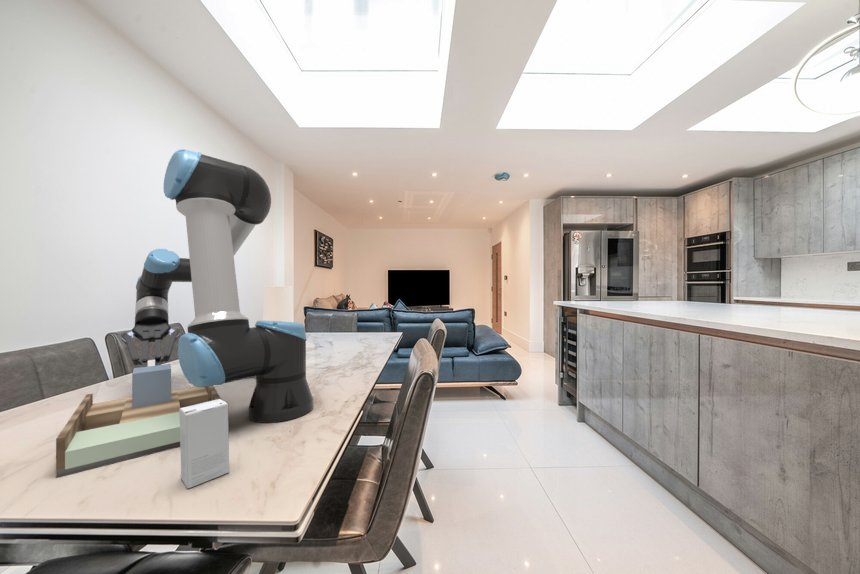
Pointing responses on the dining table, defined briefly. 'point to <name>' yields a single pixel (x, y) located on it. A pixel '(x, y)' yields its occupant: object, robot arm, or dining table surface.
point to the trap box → (119, 413)
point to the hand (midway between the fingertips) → (151, 383)
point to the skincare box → (204, 442)
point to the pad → (122, 439)
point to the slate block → (151, 385)
